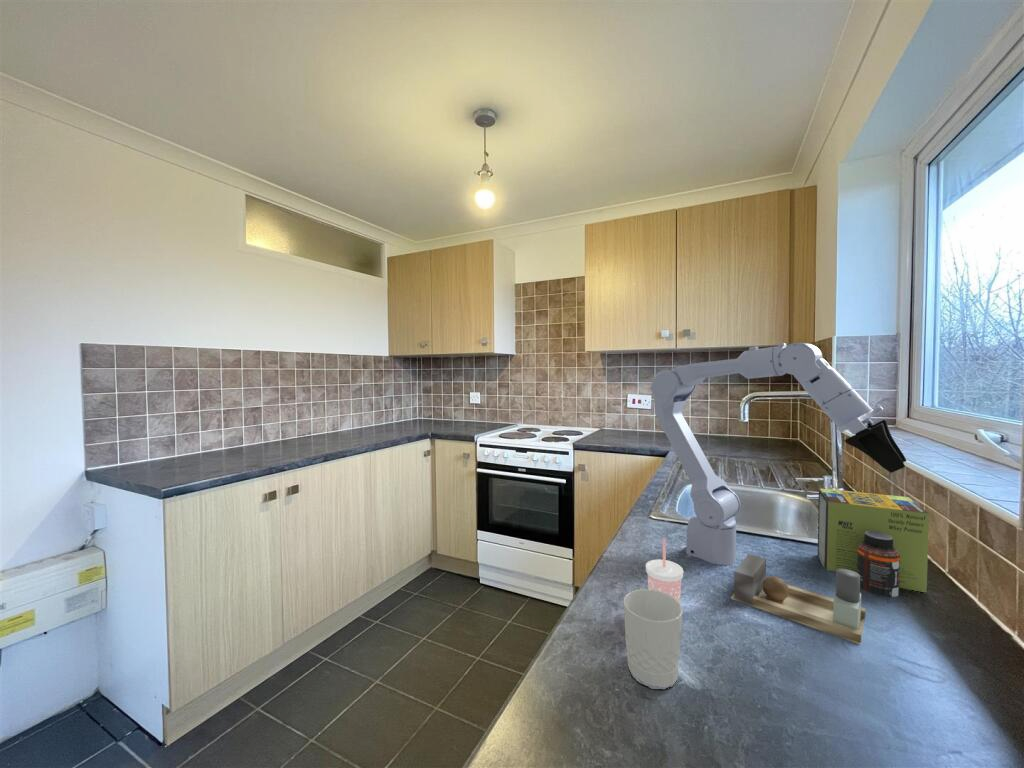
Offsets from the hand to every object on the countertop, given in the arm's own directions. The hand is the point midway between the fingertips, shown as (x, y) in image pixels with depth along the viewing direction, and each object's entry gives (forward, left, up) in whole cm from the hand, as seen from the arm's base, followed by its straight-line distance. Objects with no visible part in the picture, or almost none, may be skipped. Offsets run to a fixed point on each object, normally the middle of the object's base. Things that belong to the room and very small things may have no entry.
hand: (899, 466), depth 66 cm
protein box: (-5, +19, -27) cm, 33 cm away
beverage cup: (-29, -24, -27) cm, 46 cm away
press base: (-13, -7, -27) cm, 30 cm away
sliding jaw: (-6, -7, -25) cm, 27 cm away
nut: (-16, -7, -25) cm, 31 cm away
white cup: (-25, -37, -27) cm, 52 cm away
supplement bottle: (-3, +10, -27) cm, 29 cm away
